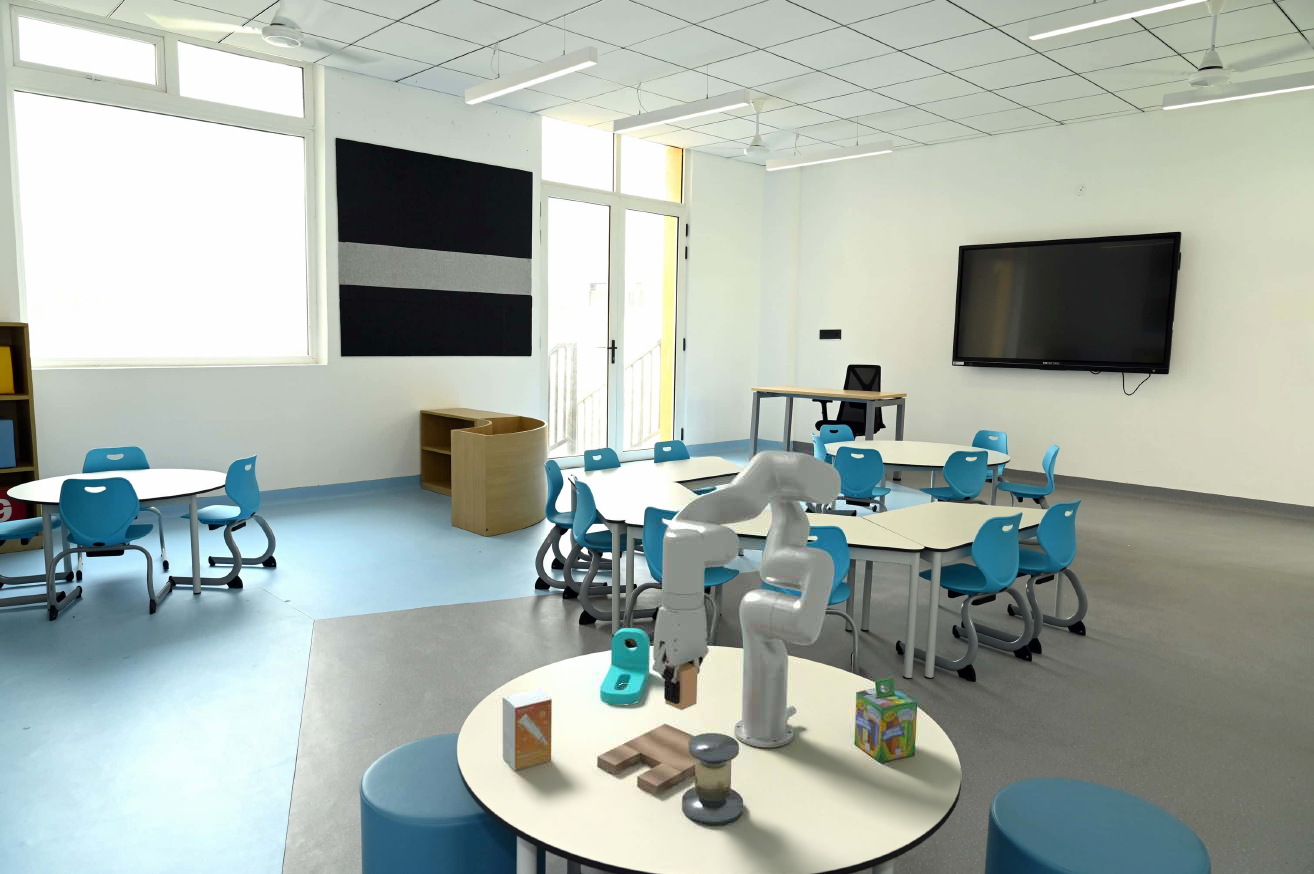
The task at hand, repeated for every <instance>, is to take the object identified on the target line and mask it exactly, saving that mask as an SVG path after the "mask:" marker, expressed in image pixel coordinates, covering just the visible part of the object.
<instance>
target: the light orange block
mask: <svg viewBox="0 0 1314 874" xmlns="http://www.w3.org/2000/svg"><path fill="white" fill-rule="evenodd" d="M672 669H673V668H672V667H670V669H669V670H670V671H671V673H672ZM677 681H678V682H680V696H679V703H678V704H674V703H672V702H669V701H667V700H665V699H664V700H665V701H664V704H665V705H668V706H670V707H673V708H675V709H677V710H680V711H683V710H686V709H687V708H690V707H692V706H695V705H697V699H698V697H697V696H698V674H697V666H695V665H692V664H690V663H684V664H681V665H680V667H679V673H678V680H677Z"/></svg>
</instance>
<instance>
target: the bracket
mask: <svg viewBox="0 0 1314 874" xmlns="http://www.w3.org/2000/svg"><path fill="white" fill-rule="evenodd" d="M627 639H632V640H633V641H635V643H636V647H634V648H629V647H628V646H627V645H626V643H625V640H627ZM650 642H651V641H650V637H649V635H648V634H647V632H646V631H644V630H643V629H640V628H635V627H634V628H633V627H624V628H620V629H618V630H617V631H616V632H615V634H614V635H613V637H612V639H611V646H610V647H611V650H610V651H611V653H610V655H611V657H610V658H611V660H610V661H611V662H610V666H609V669H608V671H607V673H606V675H605V677H604V678H603V680H602V683H601V685H600V688H599V691H600V692H599V693H600V697H599V699H601V700H600V701H601V702H602V701H603V702H602V703H604V702H605V703H604V704H606V703H608V705H612V704H620V705H619V706H624V705H623V704H632V705H634V704H633V703H635V702H637V701H638V702H640V700H641V697H642V695H641V694H643V692H644V689H643V688H645V686H646V684H645V682H646V683H647V681H646V679H647V680H648V678H649V675H650V655H651V654H650V652H651V649H650V648H651V647H650V646H651V645H650V644H651V643H650ZM648 674H649V675H648ZM647 677H648V678H647ZM621 683H628V684H626V685H627V686H626V688H625V689H622V690H621V689H620V690H619V688H618V687H620V686H619V684H621ZM644 685H645V686H644ZM617 689H618V690H617ZM642 691H643V692H642ZM640 696H641V697H640ZM639 699H640V700H639ZM638 702H637V703H638ZM621 704H622V705H621ZM635 704H636V703H635Z"/></svg>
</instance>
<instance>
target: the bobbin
mask: <svg viewBox="0 0 1314 874" xmlns="http://www.w3.org/2000/svg"><path fill="white" fill-rule="evenodd" d="M693 736H694V737H693V738H691V739H690V741H689V748H688V749H689V753H690V754H691V755H692V756H693V757H695V758H696V764H695V777H694V780H695V781H694V786H693V787H690V789H689V788H688V790H686V791H685V792H684V793H683V795H682V799H681V810H682V812H683V814H684V816H685V817H686V818H687V819H689V820H691V821H692V822H694V823H696V824H699V825H703V826H709V827H710V826H711V827H721V826H727V825H731V824H733V823H735V822H737V821H739V819H741V818H742V815H743V813H744V799H743V797H742V795H741V794H740V793H739V792H738V791H736V790H735V789H733V788H732V760H734V759H736V758H737V757H738V756H739V754H740V744H739V742H738V741H737V740H736V739H735V738H733V737H731V736H730V735H727V734H724V733H723V734H722V733H717V732H706V733H700V734H697V735H693Z"/></svg>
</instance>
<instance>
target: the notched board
mask: <svg viewBox="0 0 1314 874" xmlns="http://www.w3.org/2000/svg"><path fill="white" fill-rule="evenodd" d="M694 736H695V735H693V734H691V733H688V732H685V731H684V730H681V729H679V728H676V727H674V726H672V725H669V724H667V723H663V724H661V725H660V726H658V727H655V728H653V729H651V730H649V731H647V732H645V733H643V734H641V735H639V736H636V737H635V738H633V739H630V740H629V741H627V742H624V743H622V744H620V745H618V746H616V747H613V748H611V749H610V750H608V751H606V752H603V753H601V754H600V755H597V757H596V758H597V759H596V760H597V761H596V762H597V763H596V765H597V767H598V766H599V767H598V768H600V767H602V768H603V769H602V768H601V769H602V770H604V769H605V770H604V771H606V770H608V771H609V772H608V771H607V772H608V773H610V772H611V774H612V775H614V776H616V775H618V774H620V773H622V772H624V771H626V770H628V769H630V768H631V766H632V767H634V766H635V765H637V764H639V763H641V762H642V763H641V764H643V765H645V764H646V765H645V766H647V765H648V766H647V767H649V766H650V767H649V768H650V769H648V770H647V771H644V772H643V773H641V774H639V775H637V777H636V779H637V780H636V781H637V783H636V787H637V788H640V789H641V790H644V791H646V792H647V793H650V794H651V795H654V796H655V797H658V796H659V794H660V795H661V794H663V793H665V792H667V791H669V790H670V789H672V788H673V786H674V787H676V786H677V785H679V784H680V782H681V783H682V782H684V781H686V780H688V779H689V778H691V777H692V776H694V774H695V764H696V758H695V757H693V756H692V755H691V754H690V753H689V749H688V748H689V741H690V739H691V738H693V737H694ZM629 767H630V768H629ZM651 767H652V768H651ZM627 768H628V769H627ZM625 769H626V770H625ZM623 770H624V771H623ZM666 790H667V791H666Z"/></svg>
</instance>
